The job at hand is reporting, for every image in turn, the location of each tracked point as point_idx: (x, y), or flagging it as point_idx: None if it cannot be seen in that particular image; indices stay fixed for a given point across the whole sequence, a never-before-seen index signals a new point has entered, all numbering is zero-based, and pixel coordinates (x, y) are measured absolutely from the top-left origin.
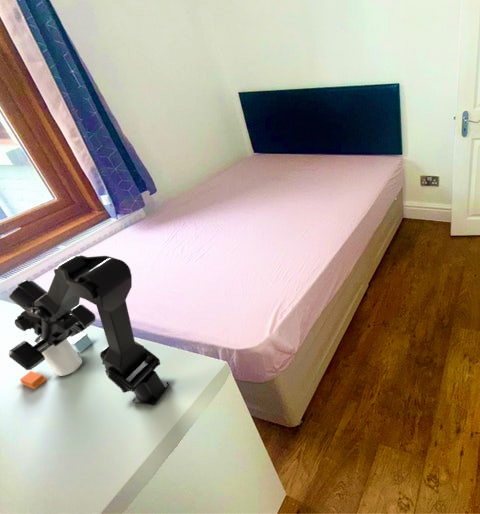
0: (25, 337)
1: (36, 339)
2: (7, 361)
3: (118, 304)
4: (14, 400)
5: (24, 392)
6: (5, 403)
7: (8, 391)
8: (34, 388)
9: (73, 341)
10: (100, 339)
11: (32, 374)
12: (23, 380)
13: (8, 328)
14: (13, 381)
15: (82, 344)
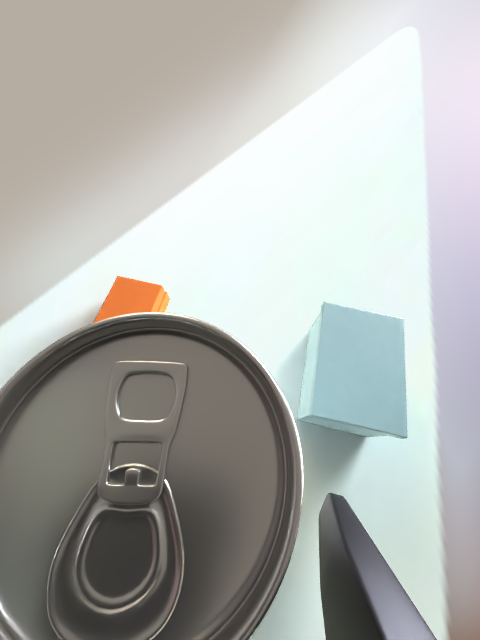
0: (337, 129)
1: (103, 330)
2: (239, 153)
3: None
4: (45, 322)
5: None
6: (39, 297)
7: (102, 260)
8: None
9: (332, 392)
10: (400, 469)
11: (139, 311)
12: (108, 298)
13: (357, 68)
14: (149, 239)
15: (337, 424)
